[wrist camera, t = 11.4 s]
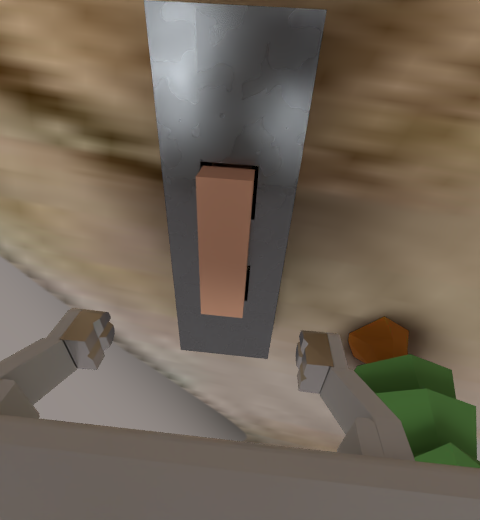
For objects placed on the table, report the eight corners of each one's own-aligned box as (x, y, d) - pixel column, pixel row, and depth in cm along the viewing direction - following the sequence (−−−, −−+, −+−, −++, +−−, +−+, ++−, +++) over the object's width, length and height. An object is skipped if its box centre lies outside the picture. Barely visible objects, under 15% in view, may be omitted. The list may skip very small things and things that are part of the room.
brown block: (214, 149, 20) (195, 176, 15) (257, 152, 19) (253, 181, 15) (214, 265, 25) (201, 313, 20) (247, 268, 25) (242, 318, 20)
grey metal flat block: (170, 14, 16) (144, 0, 12) (314, 21, 15) (326, 9, 12) (190, 318, 29) (180, 349, 26) (267, 325, 29) (267, 358, 26)
